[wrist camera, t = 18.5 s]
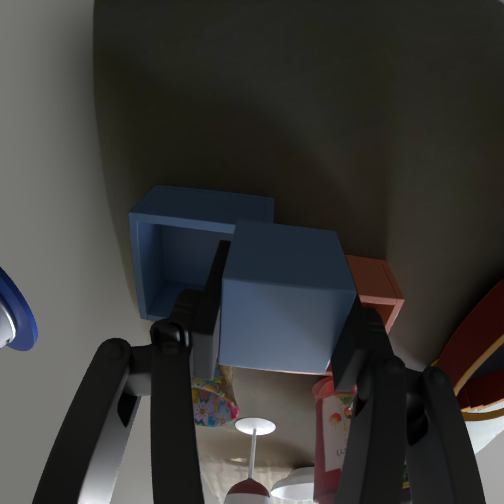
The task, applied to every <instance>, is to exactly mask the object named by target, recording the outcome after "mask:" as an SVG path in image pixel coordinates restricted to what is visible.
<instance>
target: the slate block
mask: <svg viewBox="0 0 504 504" xmlns="http://www.w3.org/2000/svg"><path fill="white" fill-rule="evenodd" d="M356 294H357V291H356V288H355V285H354V282H353V279H352V276H351V273H350V270H349V267H348V264H347V261H346V258H345V255H344V252H343V250H342V247H341V244H340V241H339V239H338V236H337V233H336V232H335V231H328V230H320V229H313V228H305V227H298V226H290V225H282V224H274V223H265V222H257V221H248V220H240V219H238V220H237V222H236V225H235V229H234V233H233V237H232V241H231V245H230V249H229V252H228V256H227V260H226V264H225V268H224V272H223V276H222V288H221V310H220V333H219V357H218V363H219V364H221V365H228V366H236V367H244V368H253V369H263V370H274V371H285V372H299V373H315V374H324V373H325V371H326V369H327V367H328V365H329V362H330V359H331V356H332V354H333V352H334V349H335V347H336V344H337V342H338V339H339V337H340V334H341V332H342V329H343V327H344V324H345V322H346V319H347V316H348V315H349V313H350V310H351V307H352V305H353V302H354V299H355V296H356Z"/></svg>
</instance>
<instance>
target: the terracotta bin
mask: <svg viewBox="0 0 504 504" xmlns="http://www.w3.org/2000/svg"><path fill="white" fill-rule="evenodd" d="M345 256H346V259H347V261H348V264H349V267H350V270H351V273H352V276H353V279H354V282H355V285H356V288H357V291H358V294H359V297H360V300H361V303H362V307H368V308H375V310H376V311H377V312H378V313H379V314H380V315H381V318H382V320H383V323H384V326H385V329H386V332H387V335H388V333H389V331H390V329H391V327H392V325H393V323H394V321H395V319H396V317H397V315H398V313H399V311H400V309H401V307H402V304H403V302H404V300H405V299H404V297H403V295H402V292H401V290H400V288H399V286H398V284H397V282H396V280H395V278H394V276H393V274H392V272H391V270H390V268H389V266H388V264H387V262H386V260H380V259H373V258H366V257H359V256H352V255H345ZM268 371H270V370H268ZM271 371H274V370H271ZM277 372H285V371H277ZM287 373H299V372H287ZM299 374H312V375H327V376H333V375H332V368H331V360H330V362H329V365H328V367H327V369H326V371H325V373H324V374H315V373H299Z"/></svg>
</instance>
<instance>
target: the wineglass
mask: <svg viewBox="0 0 504 504" xmlns="http://www.w3.org/2000/svg"><path fill="white" fill-rule="evenodd" d="M235 426H236V428H237V429H238V430H240V431H242V432H244V433H248V434H252V444H251V454H250V464H249V474H248V479H247V480H244V481H242V482H239V483H237V484H235V485H234V486H232V487H231V489H230V490H229V492H228V493H227V495H226V498H225V501H224V504H271V499H270V495H269V493H268V490H267V489H266V488H265V487H264V486H263V485H262V484H260V483H258V482H256V481H255V480H253V468H254V457H255V446H256V435H262V434H268V433H270V432H272V431H273V430H275V425H274V424H273V423H272V422H270V421H268V420H265V419H262V418H244V419H241V420H238V421H237V422H236V424H235Z"/></svg>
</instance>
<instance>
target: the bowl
mask: <svg viewBox="0 0 504 504" xmlns="http://www.w3.org/2000/svg"><path fill="white" fill-rule="evenodd" d="M270 493H271V495H273V496H275V497H278V498H282V499H288V500H313V493H314V467H305V468H299V469H296V470H293V471H292V472H291V473H290V474H289V475H288V477H287V478H284V479H281V480H279V481H278V482H276V483H275V484H274V486H273V487H272V489H271V491H270Z"/></svg>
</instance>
